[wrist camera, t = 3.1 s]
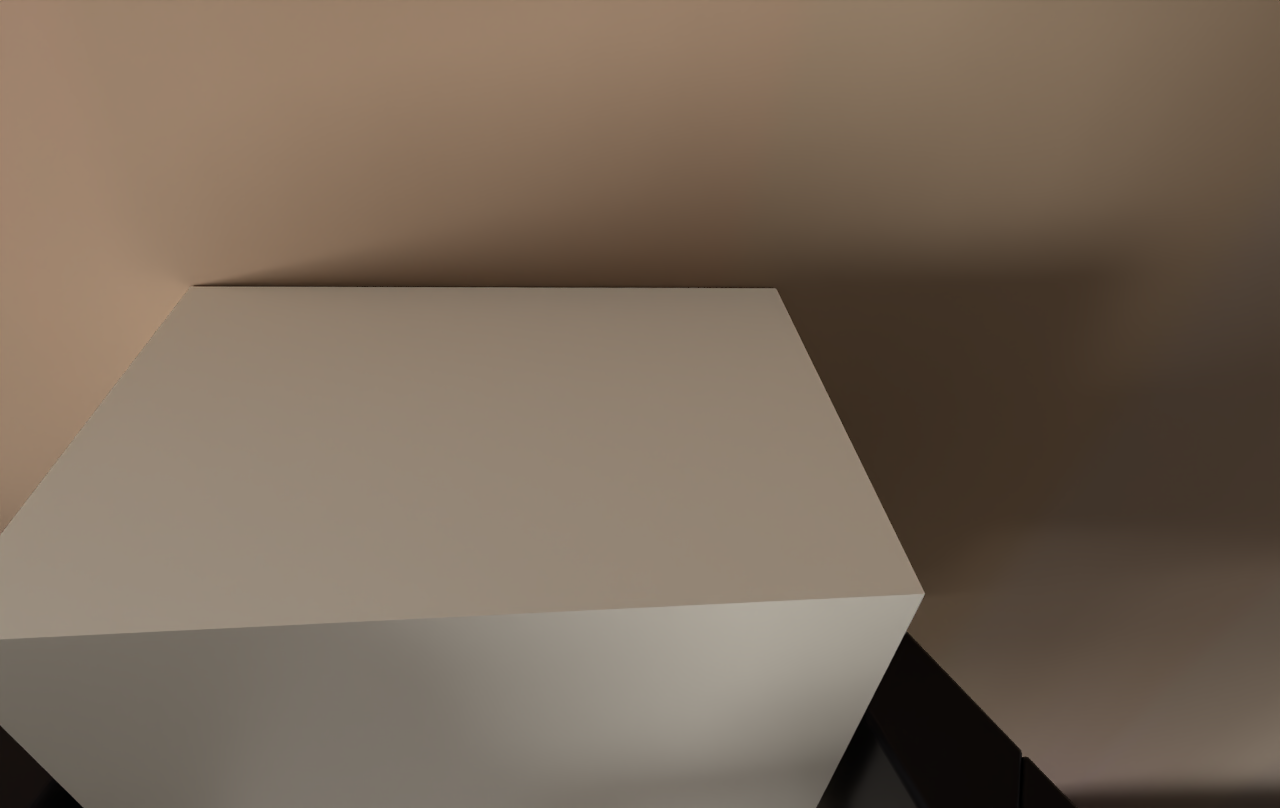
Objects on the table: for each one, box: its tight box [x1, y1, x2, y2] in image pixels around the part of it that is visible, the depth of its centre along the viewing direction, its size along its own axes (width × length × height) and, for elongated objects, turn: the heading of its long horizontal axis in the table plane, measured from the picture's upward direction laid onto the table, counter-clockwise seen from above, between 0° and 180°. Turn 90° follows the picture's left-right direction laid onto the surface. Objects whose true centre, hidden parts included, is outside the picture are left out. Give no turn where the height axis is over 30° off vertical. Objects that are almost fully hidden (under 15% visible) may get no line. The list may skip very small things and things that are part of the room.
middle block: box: [0, 287, 925, 808], centre depth 8 cm, size 6×6×4 cm
